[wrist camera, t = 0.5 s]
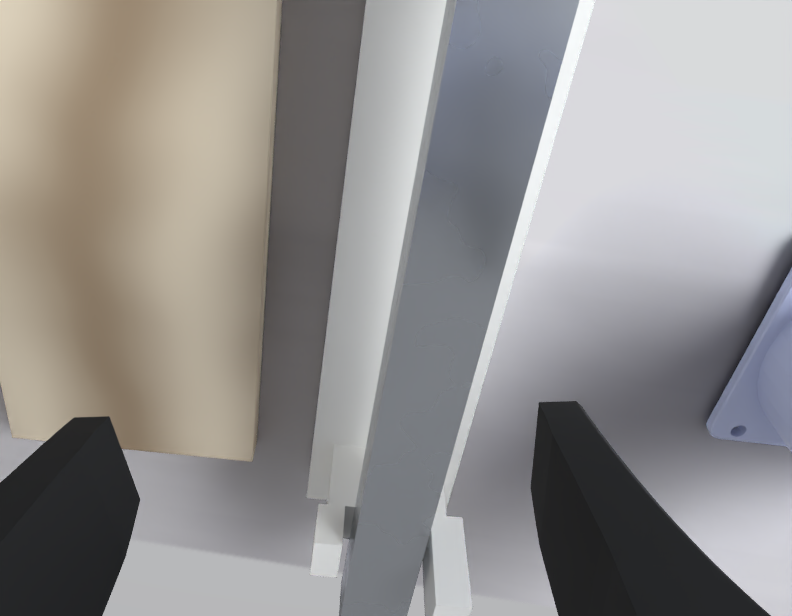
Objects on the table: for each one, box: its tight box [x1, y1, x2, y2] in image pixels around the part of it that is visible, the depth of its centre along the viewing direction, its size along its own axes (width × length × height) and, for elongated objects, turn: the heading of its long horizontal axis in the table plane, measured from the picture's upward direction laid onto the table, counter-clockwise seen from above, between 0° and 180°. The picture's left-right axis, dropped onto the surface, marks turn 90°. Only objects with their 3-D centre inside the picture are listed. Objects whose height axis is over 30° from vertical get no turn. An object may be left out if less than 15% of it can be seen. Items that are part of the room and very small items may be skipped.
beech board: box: [0, 0, 282, 462], centre depth 18 cm, size 8×20×1 cm, turn 171°
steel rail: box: [339, 0, 580, 616], centre depth 15 cm, size 2×24×2 cm, turn 171°
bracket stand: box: [306, 0, 595, 616], centre depth 16 cm, size 5×22×7 cm, turn 171°
